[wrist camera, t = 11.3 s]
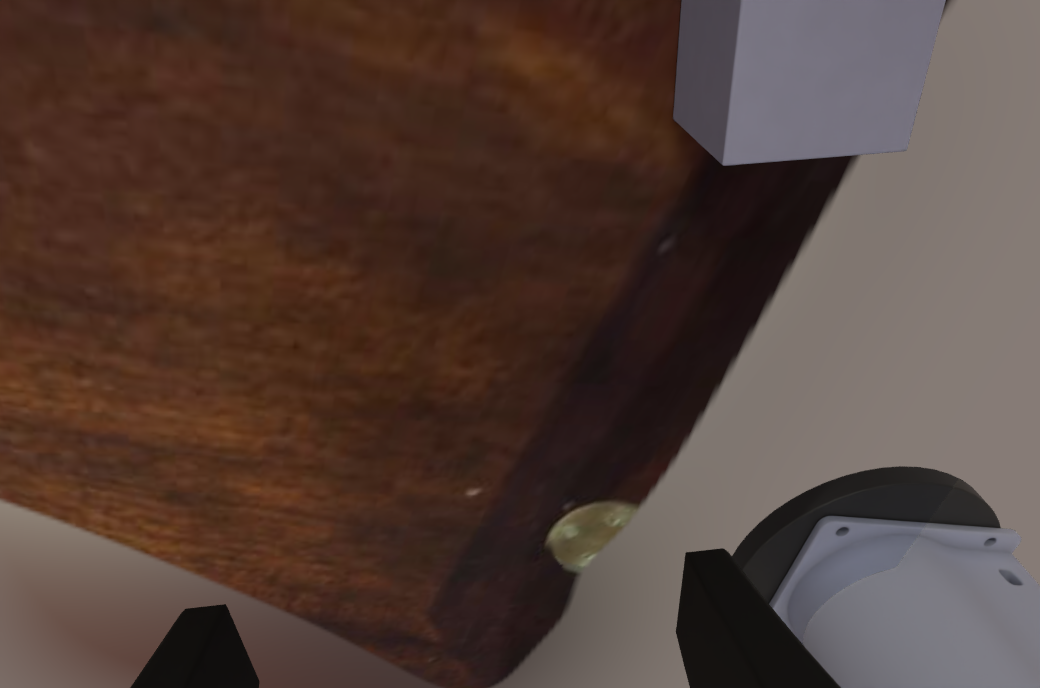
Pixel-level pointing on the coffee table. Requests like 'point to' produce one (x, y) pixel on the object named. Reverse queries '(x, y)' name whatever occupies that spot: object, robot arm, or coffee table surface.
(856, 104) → the gray rectangular block
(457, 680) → the coffee table surface
